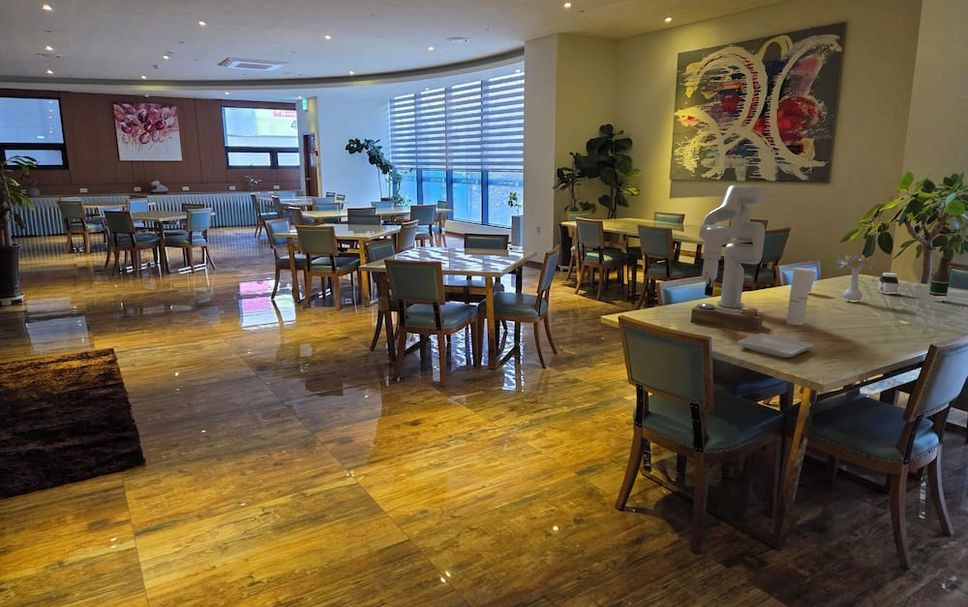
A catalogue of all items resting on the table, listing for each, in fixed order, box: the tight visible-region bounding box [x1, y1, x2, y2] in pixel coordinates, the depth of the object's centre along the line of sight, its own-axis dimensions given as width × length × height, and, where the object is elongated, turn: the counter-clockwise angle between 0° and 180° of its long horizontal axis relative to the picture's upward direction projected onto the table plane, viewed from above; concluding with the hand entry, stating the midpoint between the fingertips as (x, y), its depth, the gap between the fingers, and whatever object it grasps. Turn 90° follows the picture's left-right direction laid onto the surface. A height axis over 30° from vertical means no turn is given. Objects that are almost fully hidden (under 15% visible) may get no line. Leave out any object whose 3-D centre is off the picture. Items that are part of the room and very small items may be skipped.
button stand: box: [690, 303, 764, 332], centre depth 275 cm, size 12×28×6 cm, turn 58°
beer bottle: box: [928, 256, 950, 297], centre depth 331 cm, size 8×8×24 cm
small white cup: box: [698, 302, 715, 310], centre depth 279 cm, size 6×6×6 cm
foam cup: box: [809, 268, 817, 293], centre depth 347 cm, size 10×9×13 cm
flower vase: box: [835, 254, 877, 301], centre depth 325 cm, size 13×18×25 cm
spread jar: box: [877, 272, 904, 293], centre depth 348 cm, size 12×11×12 cm
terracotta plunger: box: [741, 306, 759, 316], centre depth 270 cm, size 6×6×6 cm
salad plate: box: [736, 332, 815, 359], centre depth 237 cm, size 21×21×3 cm
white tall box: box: [786, 267, 813, 326], centre depth 275 cm, size 7×7×25 cm
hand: (708, 295), depth 278 cm, fingers closed
